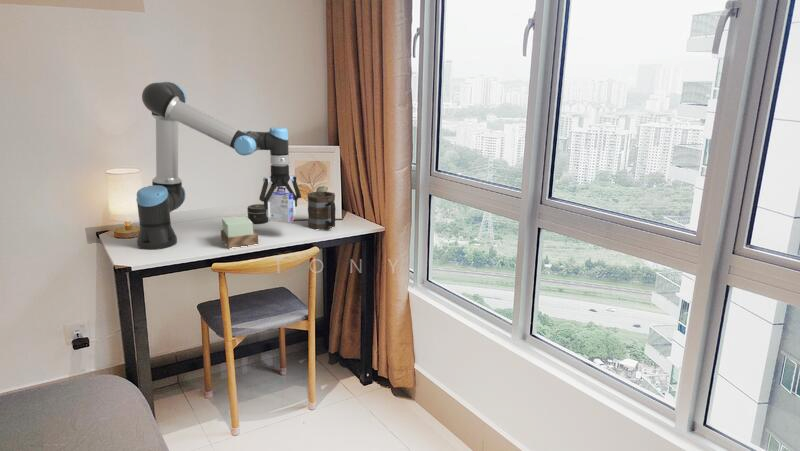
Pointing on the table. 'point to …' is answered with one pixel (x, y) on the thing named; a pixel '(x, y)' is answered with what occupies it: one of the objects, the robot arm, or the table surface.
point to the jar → (257, 214)
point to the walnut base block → (239, 240)
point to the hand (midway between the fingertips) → (280, 215)
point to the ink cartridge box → (281, 206)
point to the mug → (321, 210)
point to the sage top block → (237, 226)
